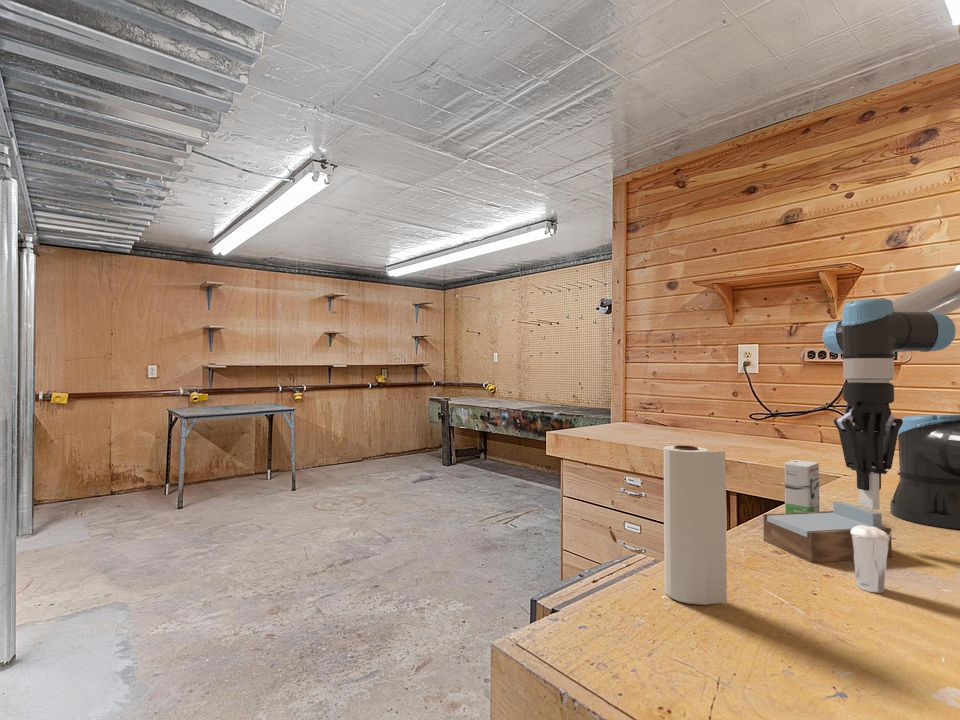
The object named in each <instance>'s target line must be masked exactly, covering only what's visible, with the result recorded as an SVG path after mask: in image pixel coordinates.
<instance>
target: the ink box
mask: <svg viewBox="0 0 960 720" xmlns="http://www.w3.org/2000/svg"><path fill="white" fill-rule="evenodd" d="M784 506H785V507H784V508H785V511H784V513H802V512H820V463H819V462H817V461H811V460H810V461H809V460H800V459H793V460H788V461H786V462H784Z"/></svg>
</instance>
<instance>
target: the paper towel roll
mask: <svg viewBox="0 0 960 720" xmlns="http://www.w3.org/2000/svg"><path fill="white" fill-rule="evenodd" d="M726 475H727V474H726V451H710V450H709V449H708V448H705V447H701V446H695V445H694V446H693V445H683V444H682V445H666V446H663V535H664V537H663V542H664V544H663V547H664V548H663V550H664V553H663V554H664V555H663V556H664V557H663V558H664V560H663V561H664V591H665V594H666V595H667V596H668V597H669V598H671V599H673V600H676V601H678V602H680V603H684V604H691V605H703V606H704V605H705V606H708V605H713V604H726V605H727V603H728V597H727V596H728V593H727V589H728V588H727V587H728V585H727V580H728V579H727V577H728V576H727V499H726V498H727V495H726V493H727V492H726V491H727V490H726V489H727V487H726V478H727V477H726Z"/></svg>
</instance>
